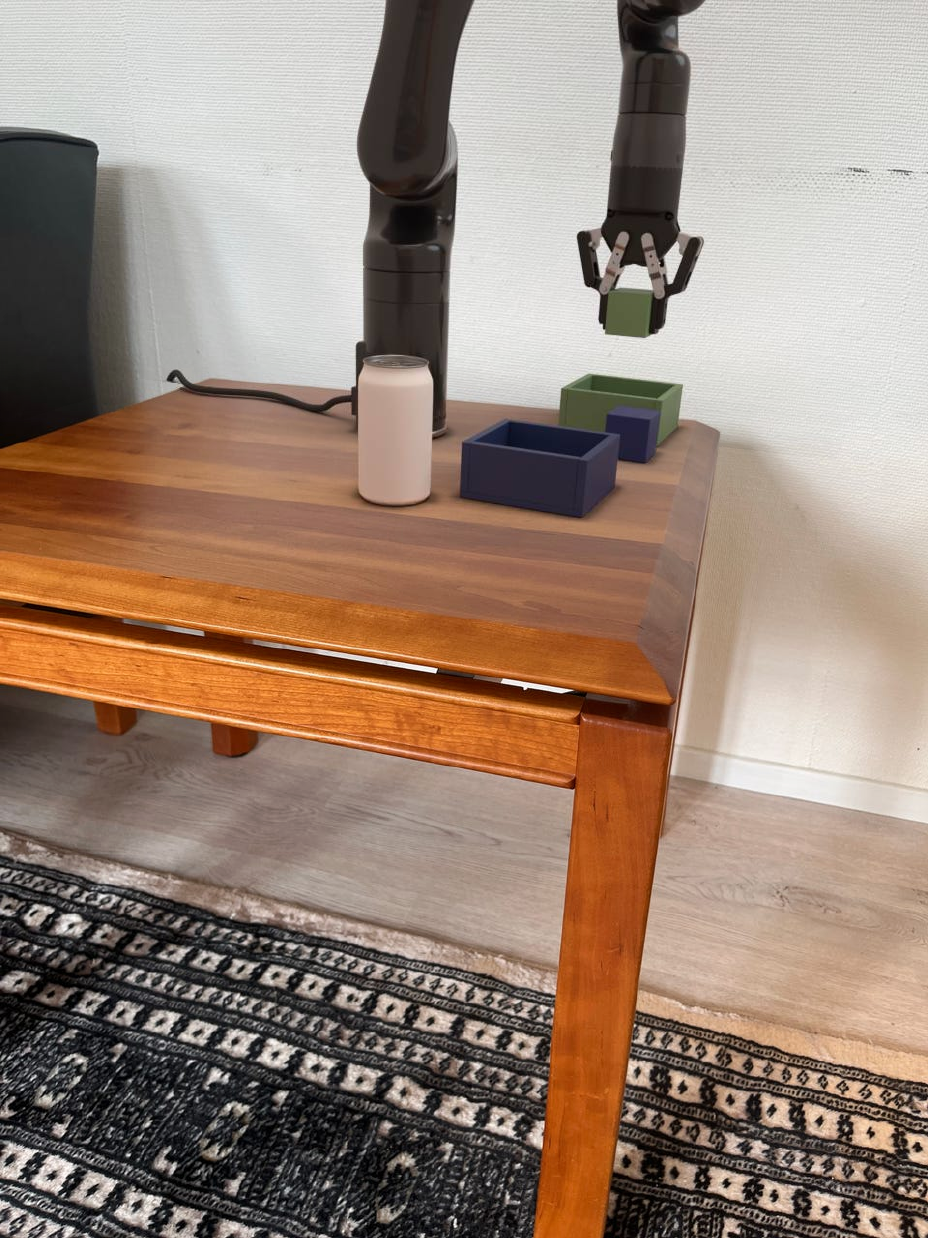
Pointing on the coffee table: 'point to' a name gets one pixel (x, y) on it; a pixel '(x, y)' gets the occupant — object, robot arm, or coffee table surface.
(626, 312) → the sage block
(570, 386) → the sage bin
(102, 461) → the coffee table surface
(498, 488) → the navy bin
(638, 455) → the navy block
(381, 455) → the can
